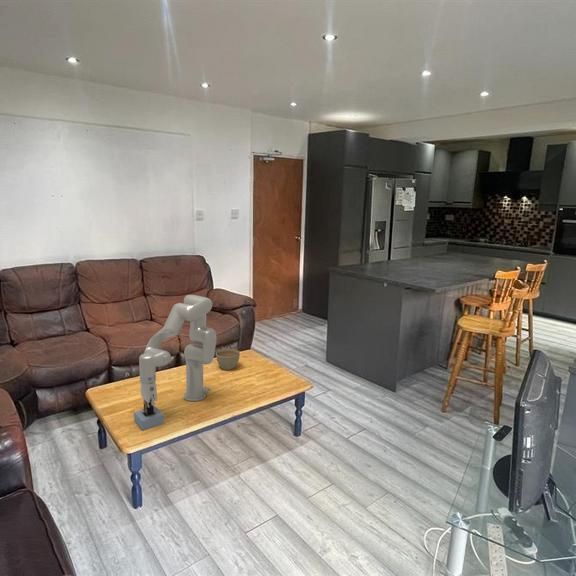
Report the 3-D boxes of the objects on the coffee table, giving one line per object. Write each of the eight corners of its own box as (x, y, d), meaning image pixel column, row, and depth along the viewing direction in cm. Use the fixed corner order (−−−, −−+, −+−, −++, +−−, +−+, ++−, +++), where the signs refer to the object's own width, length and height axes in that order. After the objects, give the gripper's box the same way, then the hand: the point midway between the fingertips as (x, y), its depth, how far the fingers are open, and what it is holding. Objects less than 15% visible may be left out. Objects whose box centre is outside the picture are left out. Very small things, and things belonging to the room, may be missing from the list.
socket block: (155, 414, 217) (154, 405, 216) (163, 423, 209) (163, 414, 208) (134, 420, 210) (133, 411, 209) (142, 430, 202) (142, 421, 201)
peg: (150, 415, 212) (150, 394, 209) (153, 418, 209) (153, 397, 207) (144, 418, 209) (143, 396, 207) (146, 421, 207) (146, 399, 204)
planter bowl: (210, 367, 281) (210, 352, 278) (228, 361, 293) (228, 346, 291) (226, 374, 271) (226, 359, 268) (244, 367, 283) (244, 352, 281)
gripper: (162, 382, 201) (162, 416, 205) (148, 370, 213) (149, 403, 217) (146, 386, 196) (147, 421, 200) (134, 374, 208) (135, 407, 212)
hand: (148, 411), depth 208 cm, fingers closed on peg, 3 cm apart
